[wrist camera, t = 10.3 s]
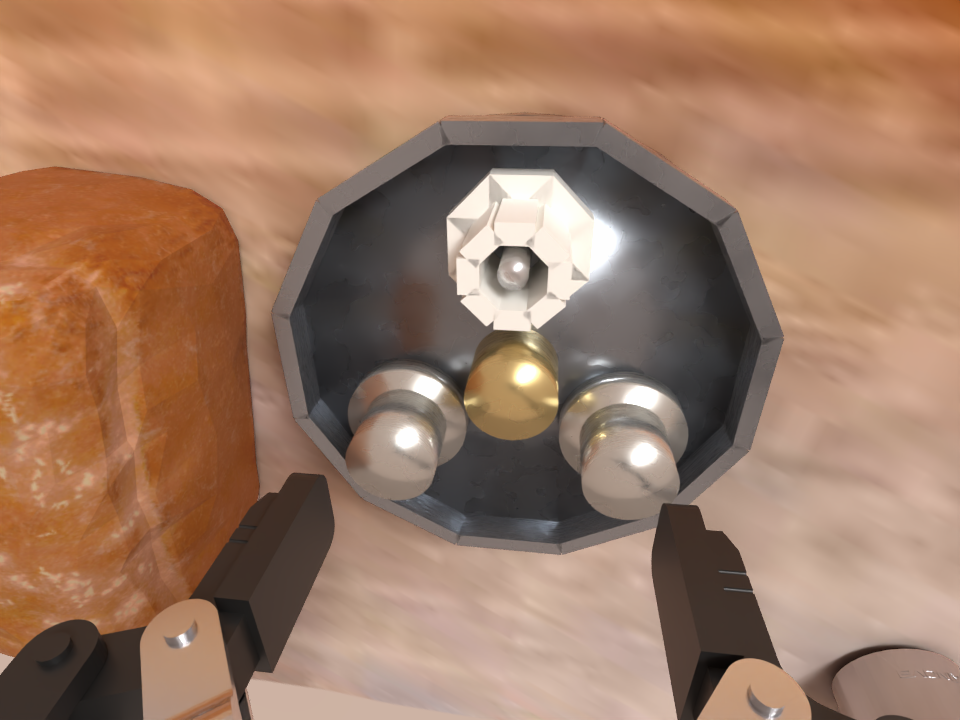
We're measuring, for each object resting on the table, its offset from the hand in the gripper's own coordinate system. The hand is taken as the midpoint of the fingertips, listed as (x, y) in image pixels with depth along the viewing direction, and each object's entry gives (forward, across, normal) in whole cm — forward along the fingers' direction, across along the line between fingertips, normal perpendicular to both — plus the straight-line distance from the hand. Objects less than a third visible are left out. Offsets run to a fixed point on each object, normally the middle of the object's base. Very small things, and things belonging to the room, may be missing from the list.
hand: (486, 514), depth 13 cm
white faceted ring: (+19, 0, -1) cm, 19 cm away
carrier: (+20, 0, +7) cm, 21 cm away
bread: (+20, +25, +9) cm, 33 cm away
